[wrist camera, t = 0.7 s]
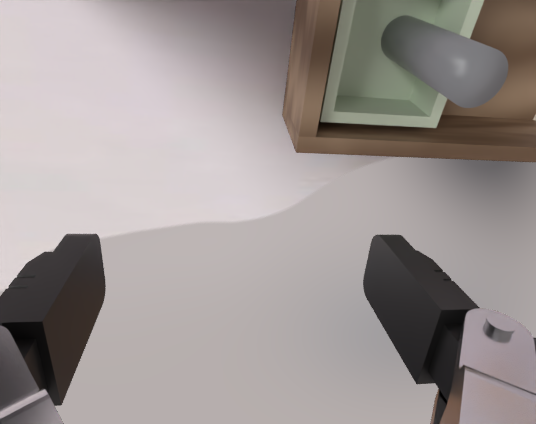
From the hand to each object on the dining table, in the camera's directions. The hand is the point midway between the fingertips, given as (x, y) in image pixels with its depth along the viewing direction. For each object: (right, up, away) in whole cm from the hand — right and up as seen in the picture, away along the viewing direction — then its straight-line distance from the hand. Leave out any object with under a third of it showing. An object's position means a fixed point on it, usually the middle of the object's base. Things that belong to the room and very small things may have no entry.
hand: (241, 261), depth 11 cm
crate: (+9, +15, +16) cm, 24 cm away
